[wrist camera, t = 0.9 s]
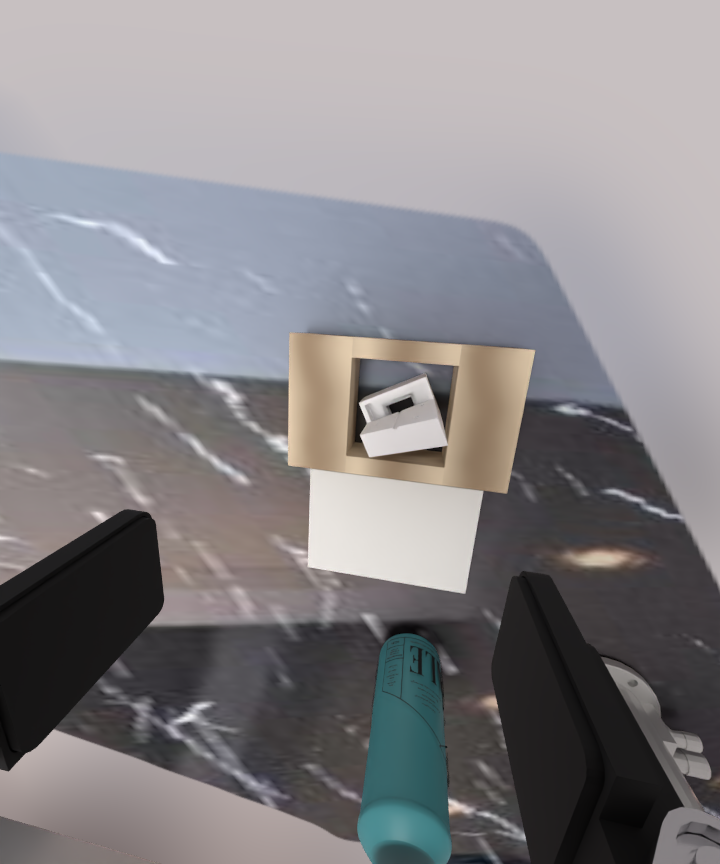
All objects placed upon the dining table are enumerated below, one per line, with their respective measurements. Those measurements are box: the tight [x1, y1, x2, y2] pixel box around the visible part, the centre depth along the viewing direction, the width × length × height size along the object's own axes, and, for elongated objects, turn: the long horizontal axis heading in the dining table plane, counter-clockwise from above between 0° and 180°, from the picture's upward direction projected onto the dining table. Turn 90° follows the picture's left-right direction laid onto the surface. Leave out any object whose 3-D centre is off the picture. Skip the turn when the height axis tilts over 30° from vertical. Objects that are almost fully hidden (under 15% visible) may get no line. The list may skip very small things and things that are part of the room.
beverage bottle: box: [357, 633, 452, 864], centre depth 28 cm, size 6×7×20 cm
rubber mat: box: [308, 468, 483, 594], centre depth 34 cm, size 16×11×1 cm
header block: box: [288, 333, 535, 493], centre depth 29 cm, size 18×11×4 cm, turn 86°
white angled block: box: [359, 373, 448, 457], centre depth 27 cm, size 4×10×9 cm, turn 113°
